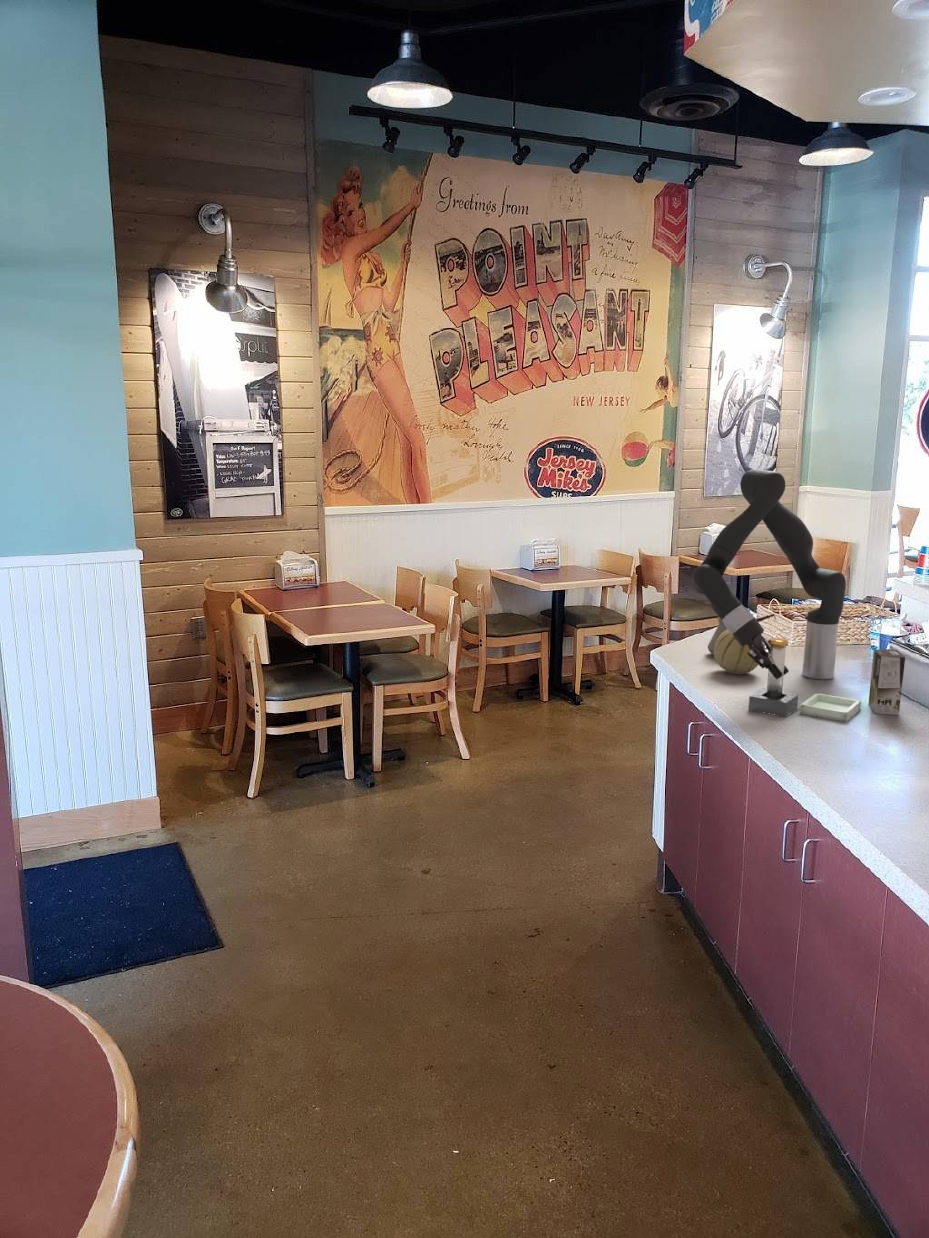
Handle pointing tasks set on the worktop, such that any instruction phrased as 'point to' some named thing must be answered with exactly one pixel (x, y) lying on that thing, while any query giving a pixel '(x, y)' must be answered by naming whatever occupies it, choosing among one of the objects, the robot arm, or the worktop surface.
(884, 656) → the coffee box
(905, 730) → the worktop surface
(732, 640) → the cantaloupe
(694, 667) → the worktop surface
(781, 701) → the socket block
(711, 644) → the coffee pot
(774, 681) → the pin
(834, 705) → the tray
